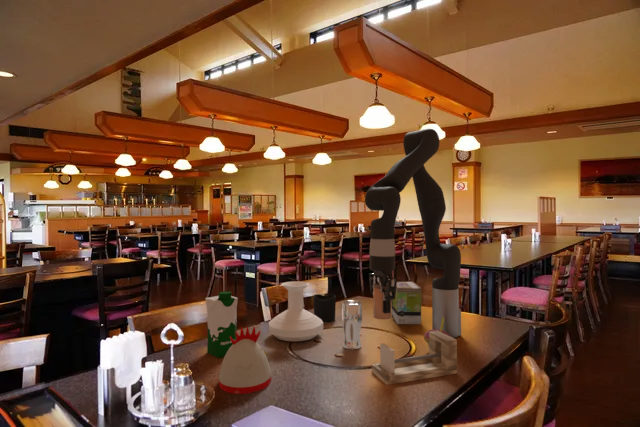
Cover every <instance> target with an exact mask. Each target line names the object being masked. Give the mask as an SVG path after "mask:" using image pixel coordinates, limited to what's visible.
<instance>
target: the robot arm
mask: <svg viewBox="0 0 640 427" xmlns="http://www.w3.org/2000/svg"><path fill="white" fill-rule="evenodd" d="M439 148H440V137H439V135H438V133H437V130H435V129H433V128H425V129H420V130H419V129H418V130H414V131H409V132H407V133H406V134H404V137H403V150H404V154H405V156H404V157H402V158H401V159H399V160H398V161H397V162H395V163H394V164H393V166H391V168H390V169H389V170H388V171H387V173H386V174H385V175H384V176H383V177H382V178H380V179H379V180H377V181H376V182H375V183H373V184H372V185H371V186H370V187H369V188H368V189H367V191H366V193H365V196H364V203H365V206H366V207H367V209H369V210H371V211H375V212H377V211H381V212H382V211H383V212H382V216H381V217H379V218H375V219H372V221H371V222H370V243H369V270H370V271H373V273H372V272H371V273H369V274H368V276H369V277H368V279H369V291H370V293H371V294H373V284H379V286H380V292H381V293H382V297H383V313H385V314H386V313H390V312H391V305H392V304H391V300H392V299H395V295H396V286H397V282H398V280H397V279H393V278H392V277H393V276H392V271H395V269H396V242H395V225H396V220H397V217H398V214H399V209H400V206H401V201H402V198H401V193H402V192H403V190H404V189H405V187H406V186H407V185H408V183H410V181H411V179H412V180H413V181H412V182H413V185H414V190H415V195H416V200H417V205H418V210H419V213H420V219H421V223H422V227H423V228H422V229H423V230H422V231H423V234H424V243H425V244H424V245H425V253H426V259H427V262H428V264H429V266H430V267H432V268H434V269H439V270H441V269H442V270H443V274H442V276H440V277H436V278H433V279H432V281H431V282H432V283H431V289H432V290H431V295H432V296H431V297H432V298H431V299H432V301H431V303H432V304H431V306H432V307H431V308H432V310H431V311H432V312H431V313H432V315H431V316H432V320H431V321H432V325H431V326H432V327H431V328H432V329H431V330H434V329H440V328H441V322H442V318H443V316H444V323H443V329H442V330H444V331H446V332H447V333H448V334H450V336H451V337H452V338H454V339H456V338H458V337H459V336H462V309H461V308H459V307H460V306H459V298H460V297H459V294H460V293H459V290H460V288H459V286H460V280H461V265H462V263H461V262H462V254H461V250H460V247H459V246H458V245H456V244H451V243H441V240H440V227H441V224H442V221H443V220H444V216H445V214H446V210H447V207H446V206H447V205H446V200H445V196H444V191H443V189H442V187H441V186H440V185H439V183H438V182H437V181H436V180H435V179H434V178H433V177H432V176H431V174H430V173H429V172H428V171H427V169H426V167H425V164H426V163H427V162H428V161H429V160H430V159H432V158H433V157H434V156H435V155H436V153H437V152H438V150H439ZM383 286H387V289H383ZM385 292H386V295H385Z"/></svg>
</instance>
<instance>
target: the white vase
mask: <svg viewBox="0 0 640 427" xmlns="http://www.w3.org/2000/svg"><path fill="white" fill-rule="evenodd" d="M280 284H281V286H282V287H284V288H285V289H286V290H287V301H288V302H287V309H285V310H284V311H282V312H280V313H279V314H278V315H276V316H274V317H273V318H272V319H271V320H269V321H268V332H269V333H270V334H271V335H273V336H274V337H276V339H278V340H281V341H286V342H303V341H304V342H305V341H308V340H312V339H314V338H315V337H317V336H318V335H319V334H320V333H322V331H323V330H324V323H323V321H322V320H321V319H320V318H318V317H317V316H316V315H314V313H312V312H310V311H308V310H306V309H305V308H304V289H306V288H307V287H308V286H309V285H310V282H307V281H302V280H301V281H293V280H292V281H285V282H282V283H280Z"/></svg>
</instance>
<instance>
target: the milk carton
mask: <svg viewBox="0 0 640 427" xmlns="http://www.w3.org/2000/svg"><path fill="white" fill-rule="evenodd" d="M204 299H205V305H206V315H207V316H206V319H207V320H206V323H207V324H206V325H207V343H206V344H207V348H206V350H207V351H206V352H207V354H209V355H211V356H213V357H216V358H217V359H220V358H224V357H225V355H226V353H227V351H228V350H229V348H230V347H231V346H232V345H233V343H232V342H231V339H230V337H231V338H232V339H233V340H236V339H237V338H236V334H235V332H237V333H238V331H237V330H238V328H237V322H238V321H237V307H238V301H239V298H238V297H236V296H232V291H231V290H230V291H228V290H225V291H219V292H218V295H215V296H211V297H209V296H208V297H205V298H204Z"/></svg>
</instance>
